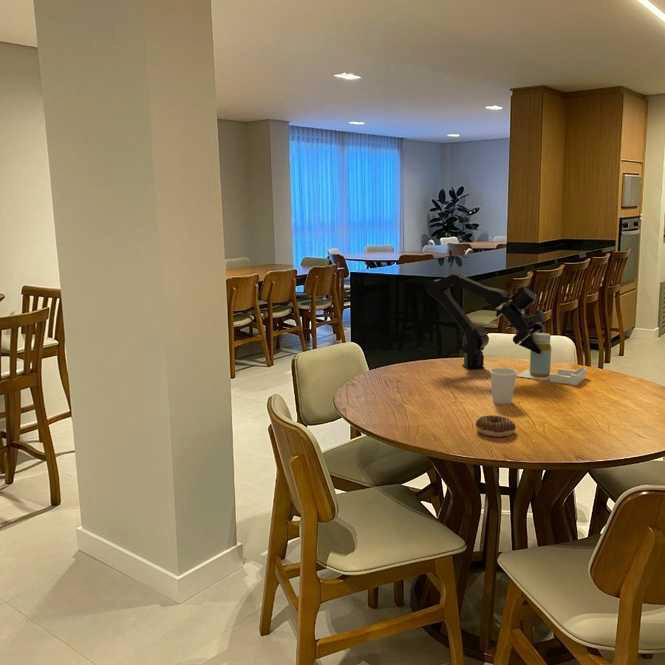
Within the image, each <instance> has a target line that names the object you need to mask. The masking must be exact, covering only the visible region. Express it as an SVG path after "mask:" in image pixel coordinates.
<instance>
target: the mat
mask: <svg viewBox="0 0 665 665" xmlns="http://www.w3.org/2000/svg"><path fill="white" fill-rule="evenodd" d="M550 374H556V375H557V373H555V372H550ZM520 377H524V378H523V379H528V378H531V379H530V380H535V379H539V380H538V381H542V380H546V381H545V382H547V381H549V380H550V375H549V376H547V377H535V376H532V375H531V374H530V369H526V370H523V371H521V372H520V373H519V374H518V373H517V374H516V378H520ZM548 379H549V380H548Z"/></svg>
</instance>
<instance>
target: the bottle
mask: <svg viewBox="0 0 665 665" xmlns="http://www.w3.org/2000/svg"><path fill="white" fill-rule="evenodd" d="M533 340H534V341H535V343H536V344H537V346H538V347H539V349H540V350H541V353H540V354H537V353H535V352H533V351H531V350H530V352H529V353H530V358H529V359H530V360H529V370H530V374H531V375H532V376H535V377H547V376H549V375H550V373H551V363H552V362H551V361H552V360H551V359H552V346H551V334H550V333H548V332H544V333H533Z"/></svg>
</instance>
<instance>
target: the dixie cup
mask: <svg viewBox="0 0 665 665" xmlns="http://www.w3.org/2000/svg"><path fill="white" fill-rule="evenodd" d="M489 373H490V382H491V394H492V401H493V403H494V404H497V405H511V404H512V401H513V396H514V390H515V384H516V383H515V382H516V380H517V379H516V378H517V377H516V376H517V375H518V371H517V370H516V369H513V368H510V367H509V368H508V367H494V368H491V369H489Z"/></svg>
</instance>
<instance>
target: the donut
mask: <svg viewBox="0 0 665 665" xmlns="http://www.w3.org/2000/svg"><path fill="white" fill-rule="evenodd" d="M516 427H517V426H516V423H515V422H513V421H512V420H510V418H507V417H505V416H500V415H493V414H492V415H491V414H490V415H483V416H480V417H478V418H477V419H476V422H475V428H476V430H477V431H478V432H479V433H480V434H482V435H483V436H487V435H488V437H491V436H494V437H493V438H504V437H503V436H506V437H509V436H511V435H512V434H514V432H515V431H516Z"/></svg>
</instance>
